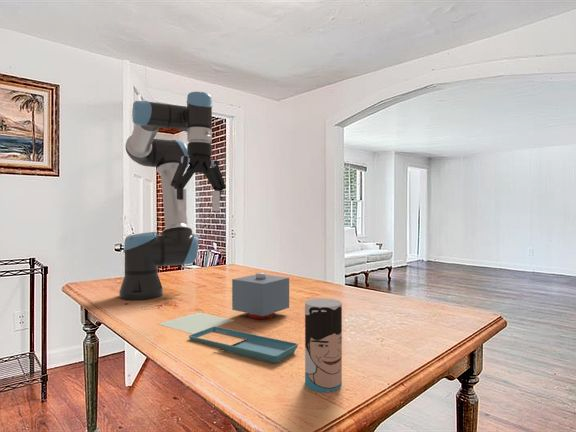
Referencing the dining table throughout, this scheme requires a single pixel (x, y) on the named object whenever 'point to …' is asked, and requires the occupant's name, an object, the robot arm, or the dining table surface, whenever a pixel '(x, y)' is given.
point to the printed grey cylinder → (323, 344)
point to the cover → (260, 294)
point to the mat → (195, 322)
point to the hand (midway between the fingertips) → (199, 210)
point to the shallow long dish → (250, 345)
